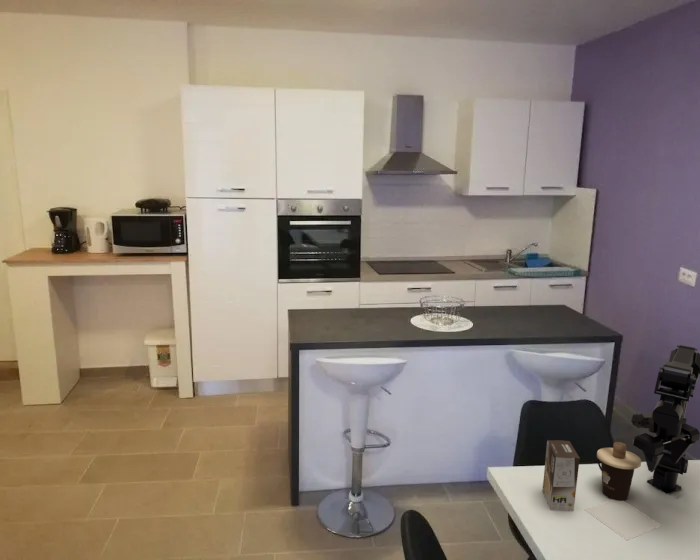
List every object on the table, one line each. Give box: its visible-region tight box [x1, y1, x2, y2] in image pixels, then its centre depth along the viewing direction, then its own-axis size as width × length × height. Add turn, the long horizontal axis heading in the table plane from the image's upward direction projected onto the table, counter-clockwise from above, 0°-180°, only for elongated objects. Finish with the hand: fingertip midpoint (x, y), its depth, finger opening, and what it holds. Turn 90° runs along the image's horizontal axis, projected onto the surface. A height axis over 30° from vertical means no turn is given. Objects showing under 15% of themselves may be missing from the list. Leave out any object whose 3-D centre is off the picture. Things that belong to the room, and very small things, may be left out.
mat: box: [584, 499, 663, 541], centre depth 141 cm, size 13×13×1 cm
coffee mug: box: [596, 457, 635, 502], centre depth 152 cm, size 12×9×10 cm
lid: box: [596, 441, 642, 470], centre depth 150 cm, size 11×11×4 cm
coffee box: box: [542, 439, 581, 512], centre depth 146 cm, size 9×6×16 cm
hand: (662, 466), depth 142 cm, fingers open, 9 cm apart
